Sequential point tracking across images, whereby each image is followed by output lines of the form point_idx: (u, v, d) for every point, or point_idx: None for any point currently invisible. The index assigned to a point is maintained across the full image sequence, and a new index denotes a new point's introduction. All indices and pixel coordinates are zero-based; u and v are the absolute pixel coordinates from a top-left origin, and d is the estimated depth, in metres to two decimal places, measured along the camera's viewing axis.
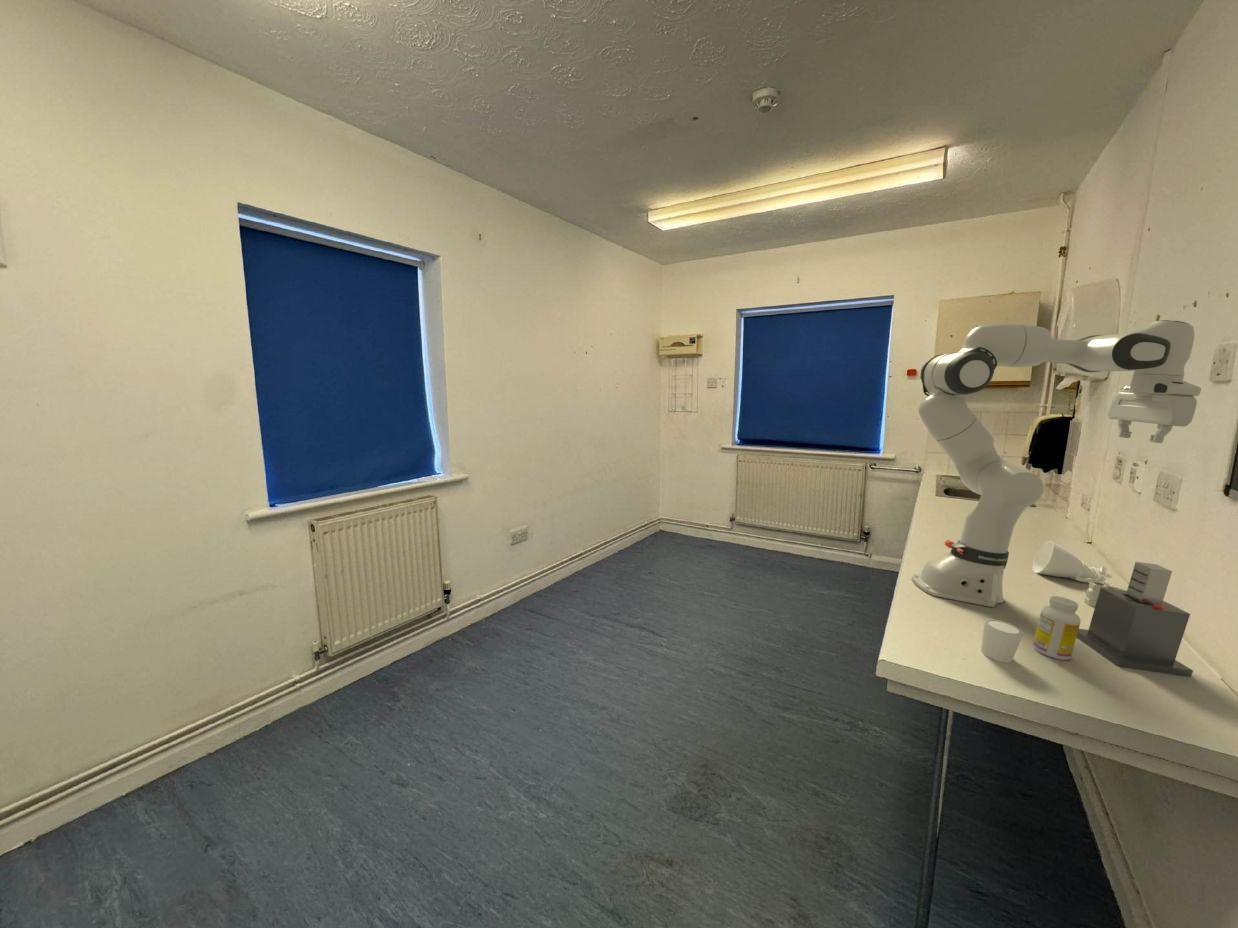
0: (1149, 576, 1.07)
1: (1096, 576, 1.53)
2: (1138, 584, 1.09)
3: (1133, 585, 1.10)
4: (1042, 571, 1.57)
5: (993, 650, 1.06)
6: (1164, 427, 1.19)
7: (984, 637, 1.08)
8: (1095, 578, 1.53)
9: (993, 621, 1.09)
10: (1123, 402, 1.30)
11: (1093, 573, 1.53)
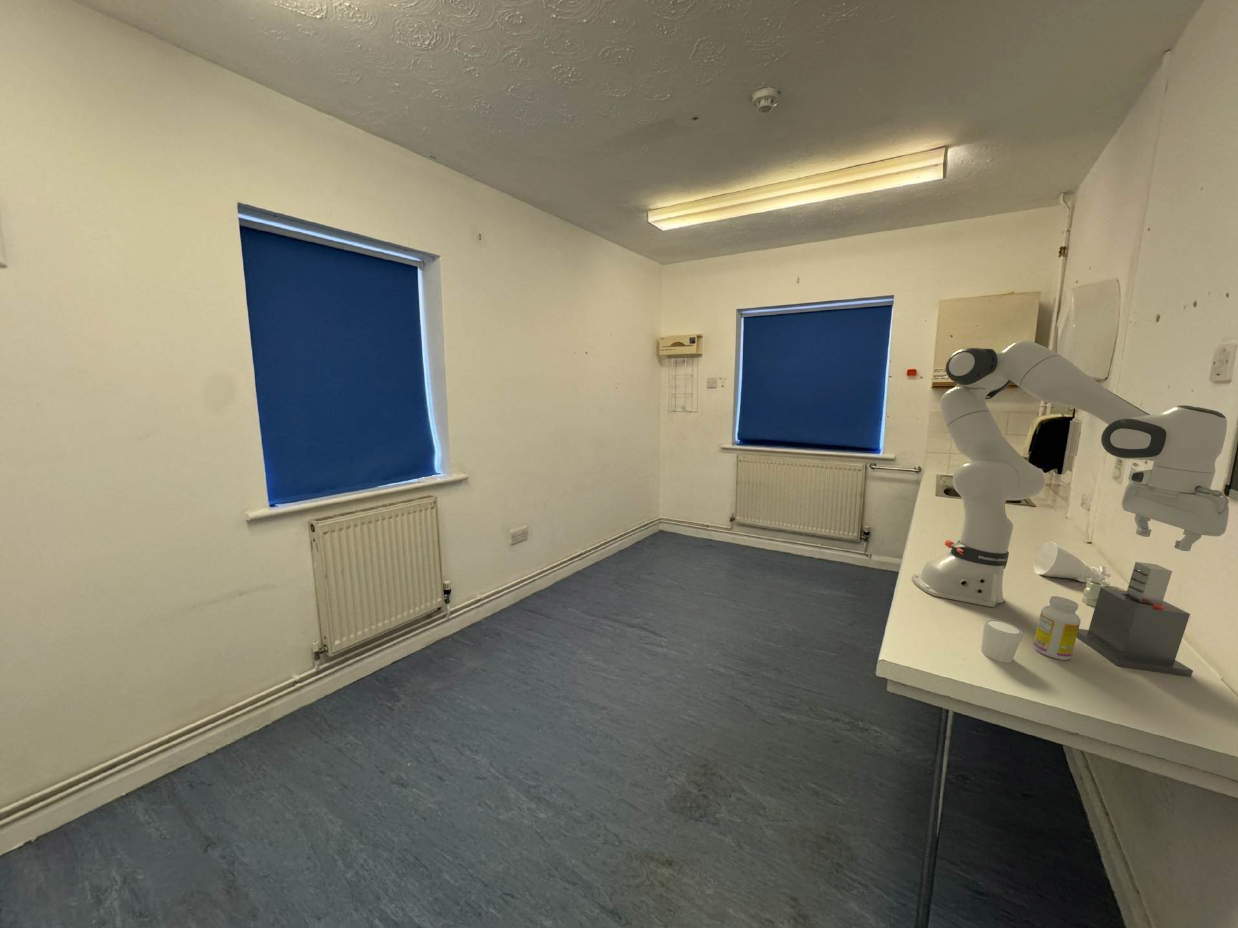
0: (1149, 576, 1.07)
1: (1097, 576, 1.53)
2: (1138, 584, 1.09)
3: (1133, 585, 1.10)
4: (1046, 573, 1.55)
5: (993, 650, 1.06)
6: None
7: (984, 637, 1.08)
8: (1096, 578, 1.53)
9: (993, 621, 1.09)
10: None
11: (1094, 573, 1.54)
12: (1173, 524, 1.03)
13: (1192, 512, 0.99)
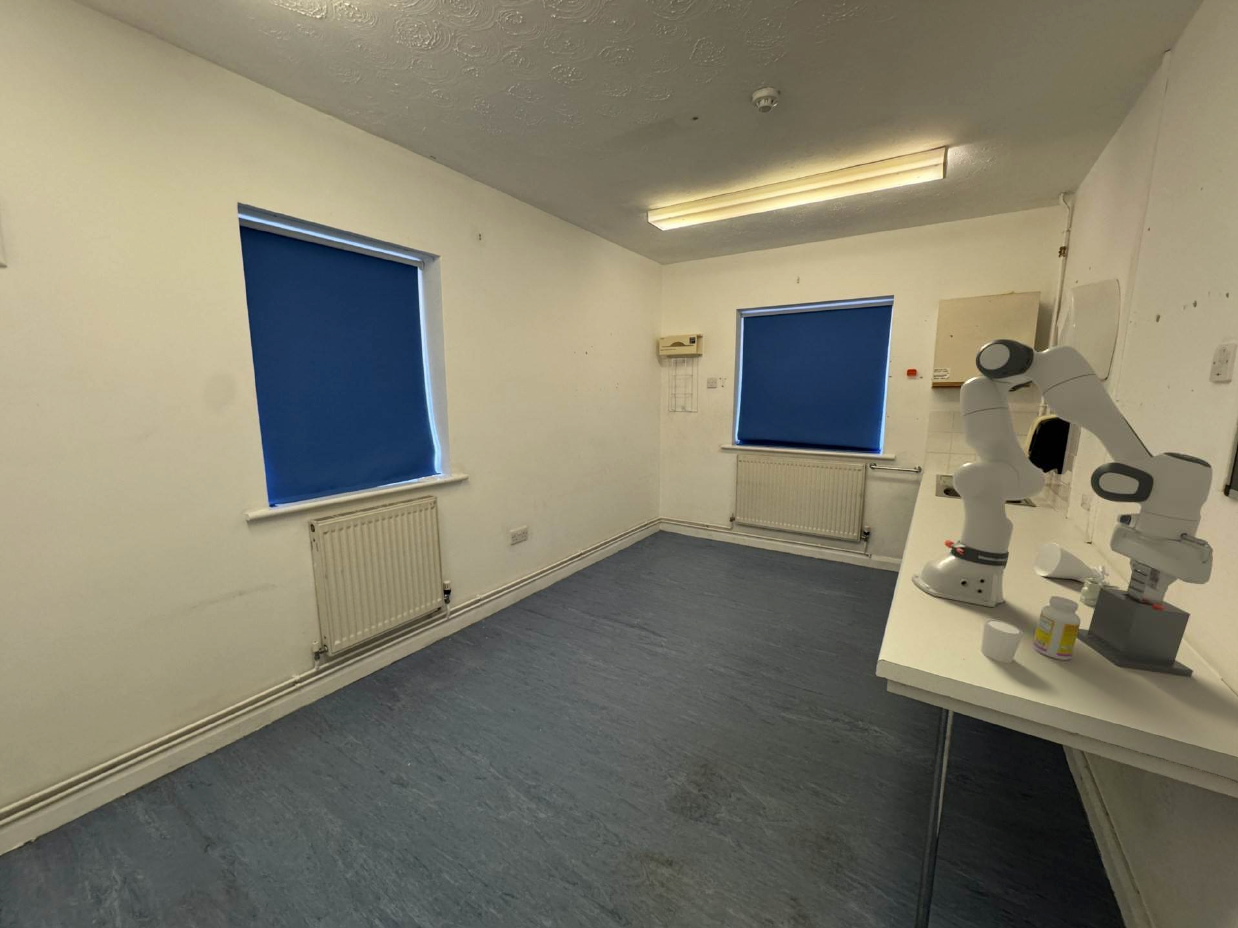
0: (1149, 576, 1.07)
1: (1097, 575, 1.54)
2: (1138, 584, 1.09)
3: (1133, 585, 1.10)
4: (1049, 574, 1.54)
5: (993, 650, 1.06)
6: None
7: (984, 637, 1.08)
8: (1097, 578, 1.53)
9: (993, 621, 1.09)
10: None
11: (1094, 573, 1.54)
12: (1159, 569, 1.05)
13: (1177, 559, 1.01)
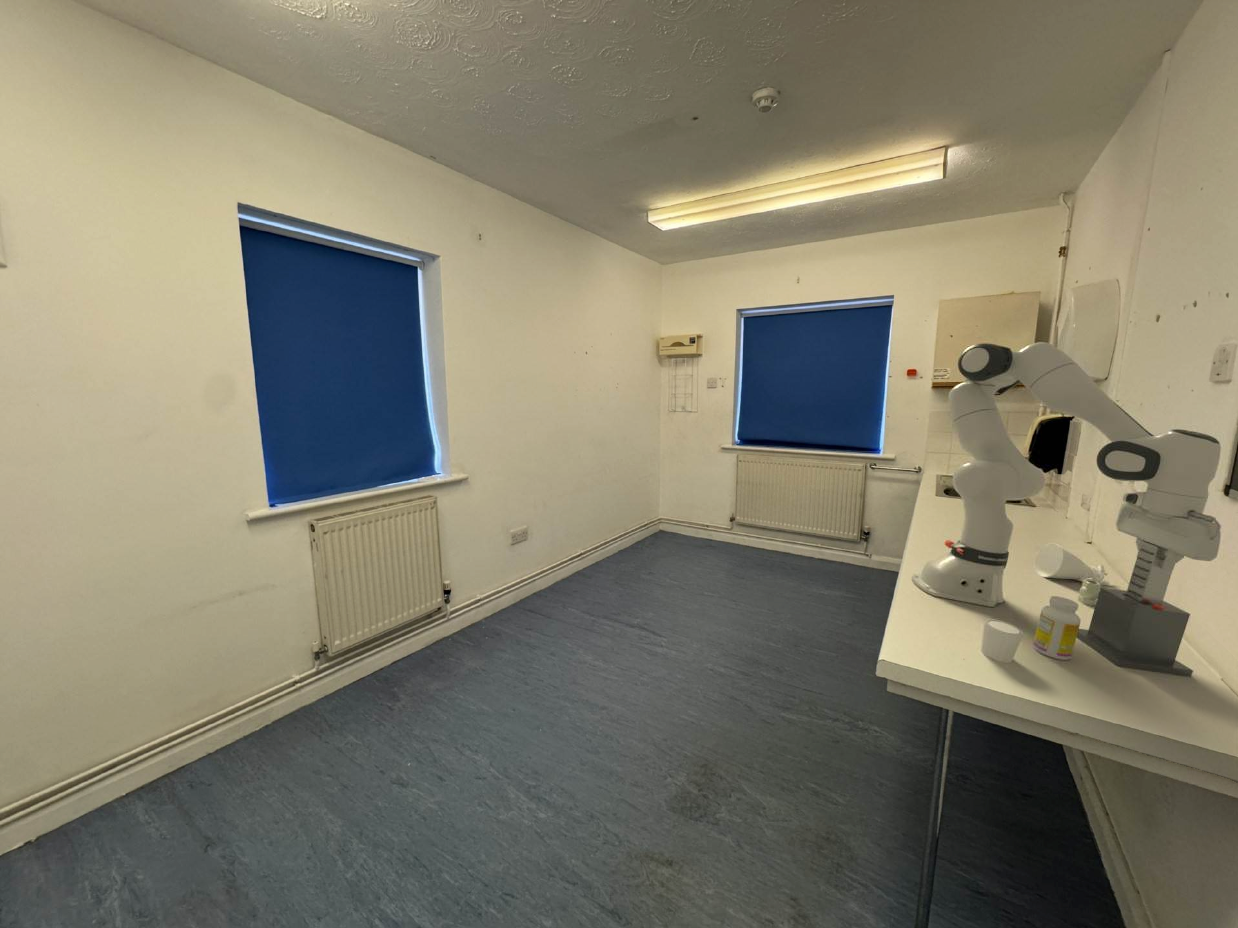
0: (1156, 554, 1.06)
1: (1096, 575, 1.54)
2: (1144, 564, 1.08)
3: (1139, 564, 1.09)
4: (1052, 575, 1.54)
5: (993, 650, 1.06)
6: None
7: (984, 637, 1.08)
8: (1097, 577, 1.53)
9: (993, 621, 1.09)
10: None
11: (1094, 572, 1.54)
12: (1166, 547, 1.04)
13: (1184, 537, 1.00)
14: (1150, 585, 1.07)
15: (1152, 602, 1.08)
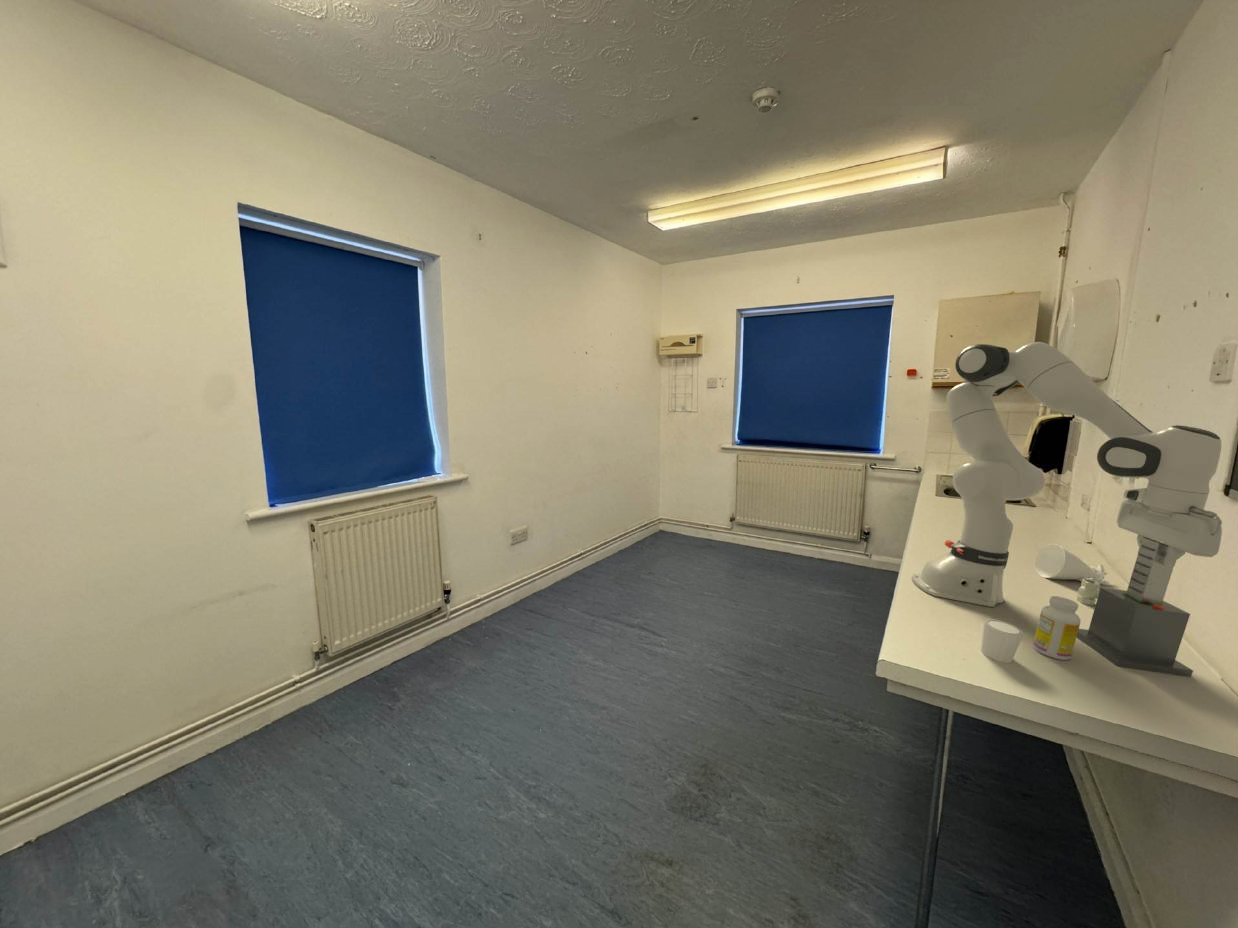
0: (1157, 551, 1.06)
1: (1097, 575, 1.54)
2: (1145, 560, 1.08)
3: (1140, 561, 1.09)
4: (1054, 576, 1.53)
5: (993, 650, 1.06)
6: None
7: (984, 637, 1.08)
8: (1097, 577, 1.53)
9: (993, 621, 1.09)
10: None
11: (1094, 572, 1.54)
12: (1167, 543, 1.04)
13: (1185, 533, 1.00)
14: (1151, 582, 1.07)
15: (1153, 598, 1.08)
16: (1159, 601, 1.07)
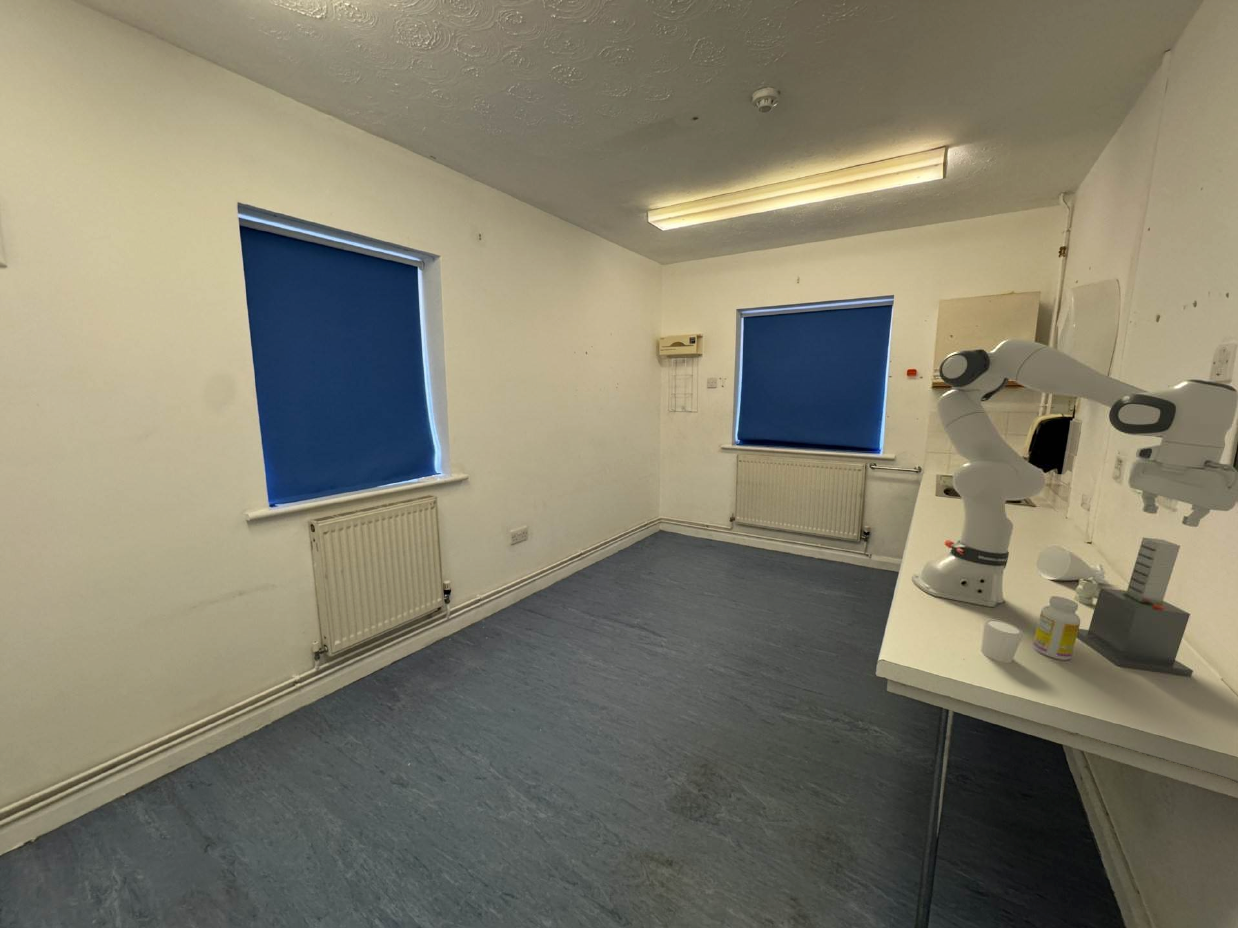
0: (1157, 551, 1.06)
1: (1096, 575, 1.54)
2: (1145, 560, 1.08)
3: (1140, 561, 1.09)
4: (1059, 578, 1.52)
5: (993, 650, 1.06)
6: None
7: (984, 637, 1.08)
8: (1097, 577, 1.54)
9: (993, 621, 1.09)
10: None
11: (1094, 572, 1.54)
12: (1181, 500, 1.02)
13: (1201, 487, 0.98)
14: (1151, 581, 1.07)
15: (1153, 598, 1.08)
16: (1159, 601, 1.07)
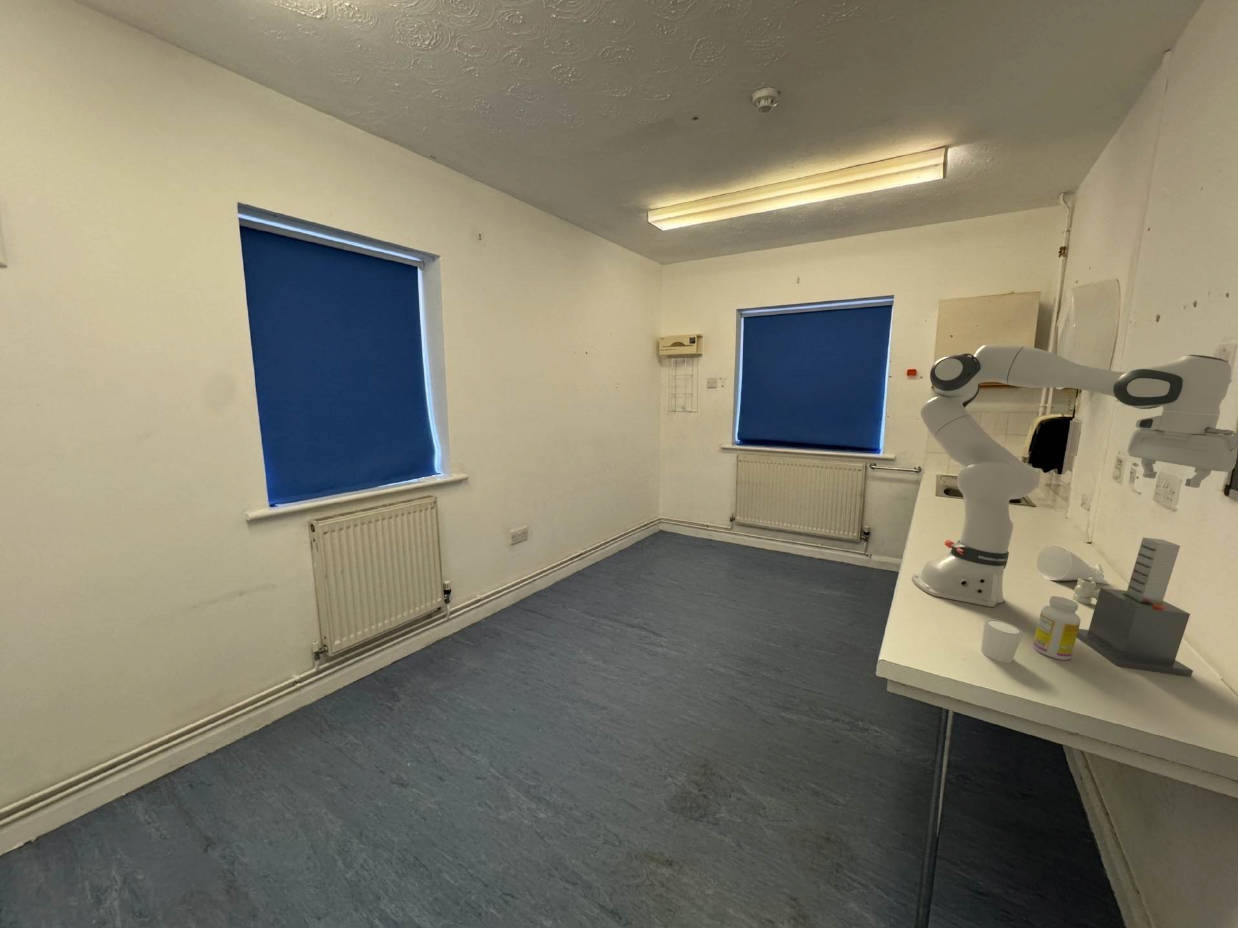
0: (1157, 551, 1.06)
1: (1095, 574, 1.55)
2: (1145, 560, 1.08)
3: (1140, 561, 1.09)
4: (1060, 578, 1.52)
5: (993, 650, 1.06)
6: None
7: (984, 637, 1.08)
8: (1097, 577, 1.54)
9: (993, 621, 1.09)
10: None
11: (1093, 572, 1.55)
12: (1184, 464, 1.12)
13: (1204, 451, 1.09)
14: (1151, 581, 1.07)
15: (1153, 598, 1.08)
16: (1159, 601, 1.07)
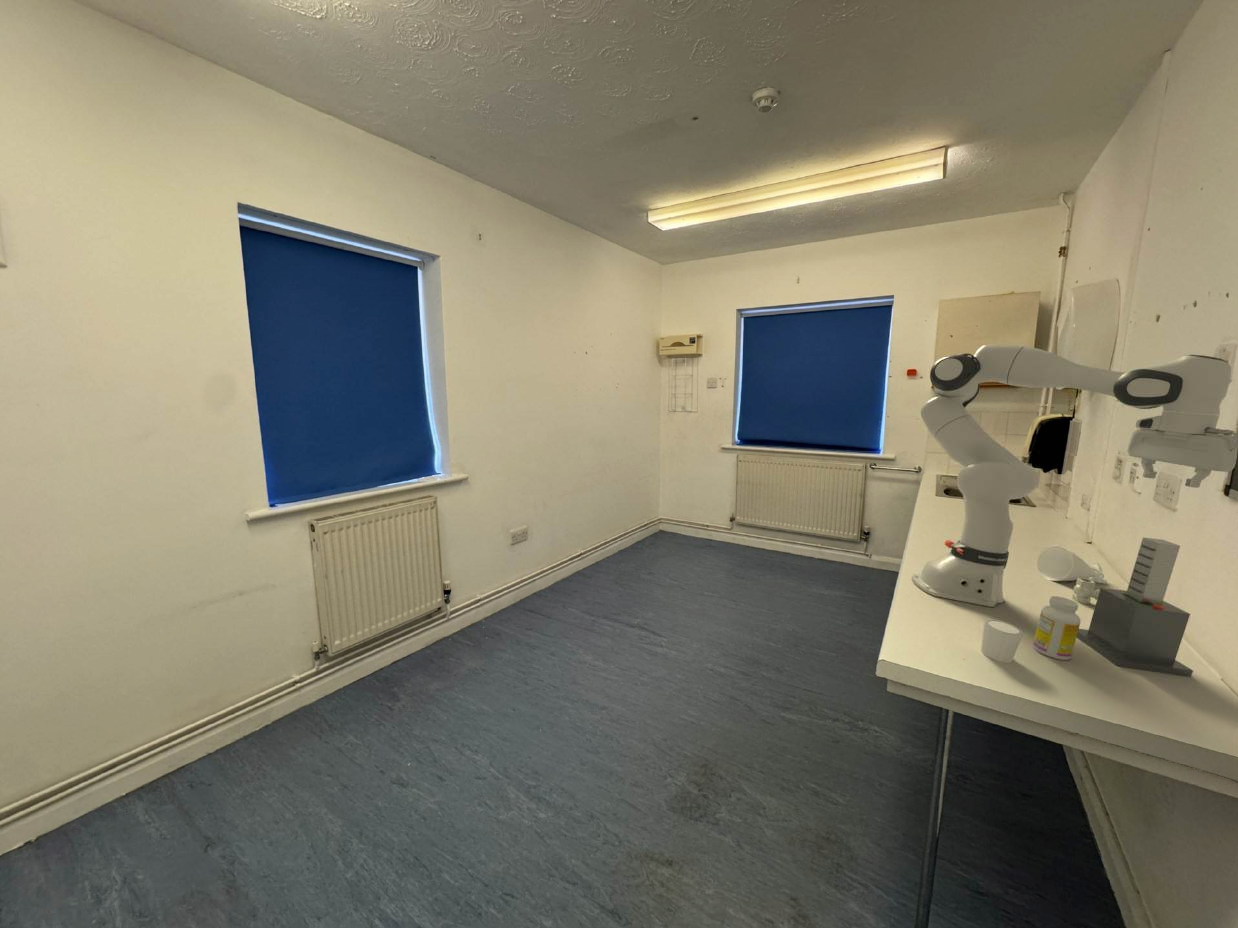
0: (1157, 551, 1.06)
1: (1095, 574, 1.55)
2: (1145, 560, 1.08)
3: (1140, 561, 1.09)
4: (1062, 579, 1.51)
5: (993, 650, 1.06)
6: None
7: (984, 637, 1.08)
8: (1096, 577, 1.54)
9: (993, 621, 1.09)
10: None
11: (1093, 572, 1.55)
12: (1184, 464, 1.12)
13: (1204, 451, 1.09)
14: (1151, 581, 1.07)
15: (1153, 598, 1.08)
16: (1159, 601, 1.07)
